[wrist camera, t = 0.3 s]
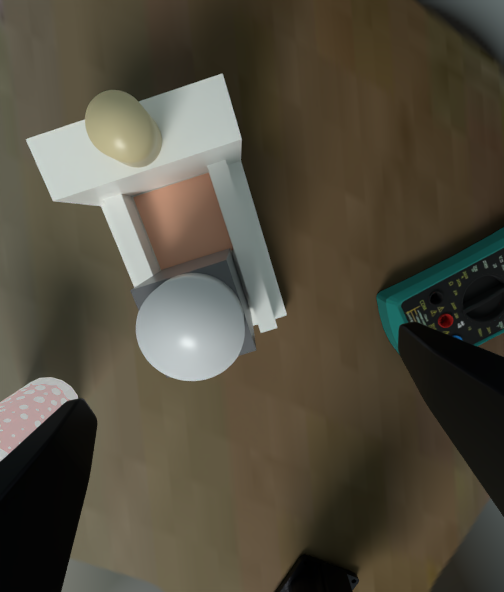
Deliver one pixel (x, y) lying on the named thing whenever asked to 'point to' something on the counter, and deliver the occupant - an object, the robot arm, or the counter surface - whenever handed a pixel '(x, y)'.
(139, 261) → the knob mount
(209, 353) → the knob
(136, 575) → the counter surface
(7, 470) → the robot arm
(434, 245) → the counter surface
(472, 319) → the digital multimeter
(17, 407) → the beverage cup
